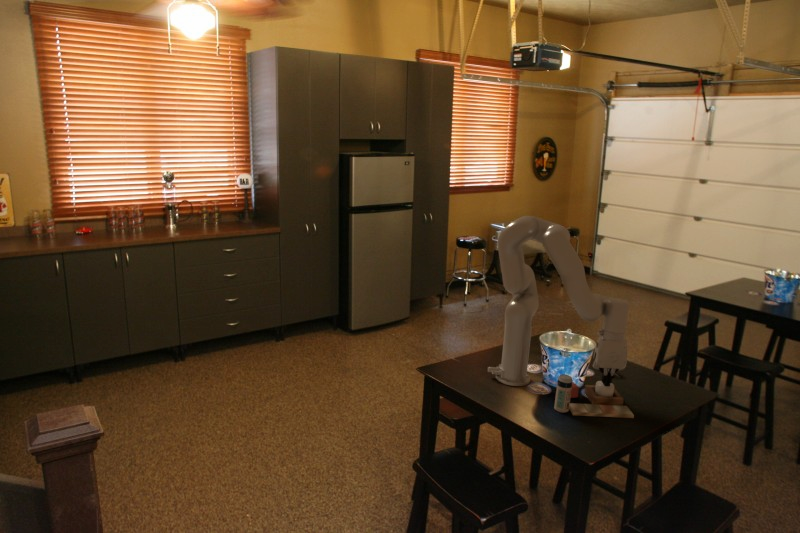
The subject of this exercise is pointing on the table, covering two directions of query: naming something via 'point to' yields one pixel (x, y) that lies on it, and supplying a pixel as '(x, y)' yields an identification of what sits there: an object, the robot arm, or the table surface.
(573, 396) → the die
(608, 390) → the white squat cylinder
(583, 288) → the robot arm
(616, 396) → the square wooden tray
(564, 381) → the spice shaker bottle
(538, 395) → the table surface
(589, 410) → the board
